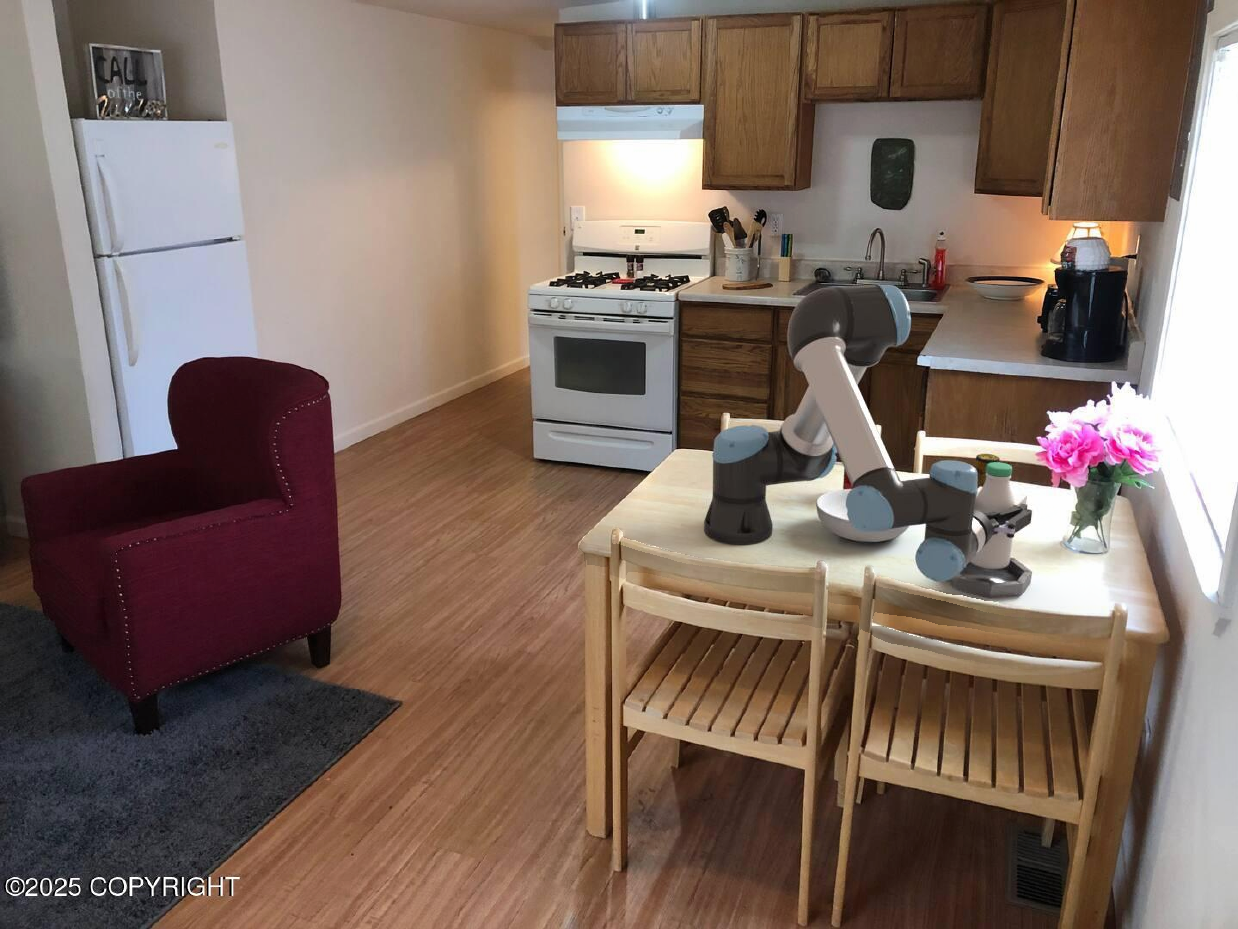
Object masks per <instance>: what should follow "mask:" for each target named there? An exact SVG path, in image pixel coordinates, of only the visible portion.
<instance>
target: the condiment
mask: <svg viewBox="0 0 1238 929" xmlns="http://www.w3.org/2000/svg"><path fill="white" fill-rule="evenodd" d="M992 462H1000V457H999V456H997V455H995V454H992V453H979V454H977V455H976V457H975V461H974V465H973V467H974V468H975V469H976V470H977V479H978V484H977V489H978V488H979V487H983V486H984V484H985V481H986V477H987V476H986V475H985V474H986V466H987V464H989V463H992Z"/></svg>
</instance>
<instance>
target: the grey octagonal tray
mask: <svg viewBox="0 0 1238 929" xmlns="http://www.w3.org/2000/svg"><path fill="white" fill-rule="evenodd" d="M1032 576H1033V571H1032V570H1030V569H1029V568H1028V567H1027V566H1025V565H1024V564H1023V563H1022V562H1020V561H1019V560H1018V559H1016V558H1015V557H1011V556H1010V562H1009V564H1008V566H1006V567H1005V568H1001V569H988V568H982V567H979V566H976V565H974V564H972V563H971V562H969V563H968V564H967V565H966V566H965V567H964V569H963V570H962V571H961V572H960V573H959V574H958V575H956V576H954V577H953V578H952V579H950V580H947V581H946V582H948V583H949V584H950V585H951V586H952V588H954V589H955V590H956V591H957V590H958V591H961V592H966V593H969V594H973V595H977V596H981V597H983V598H989V599H994V598H1005V597H1007V598H1008V597H1020V596H1022V595H1023V594H1024V593H1025V591H1026V590H1027V589H1028V587H1029V586H1030V585H1031V583H1032Z"/></svg>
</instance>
